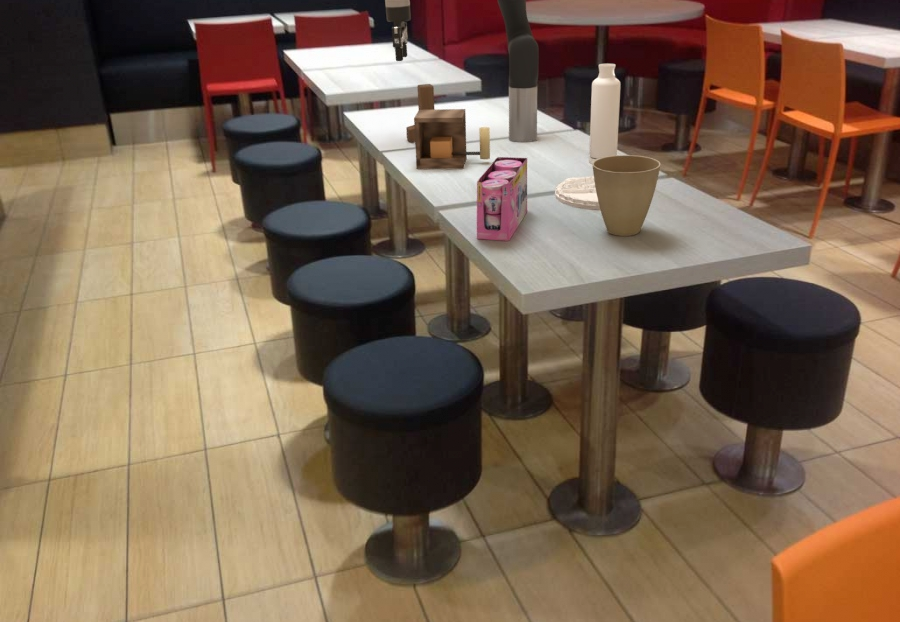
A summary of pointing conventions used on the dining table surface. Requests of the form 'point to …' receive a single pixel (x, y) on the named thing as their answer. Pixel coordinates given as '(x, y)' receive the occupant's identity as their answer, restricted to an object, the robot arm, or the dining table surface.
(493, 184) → the gum box
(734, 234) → the dining table surface
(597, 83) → the bottle
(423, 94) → the wooden block
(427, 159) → the box
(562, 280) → the dining table surface
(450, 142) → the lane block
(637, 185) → the plant pot
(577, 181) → the medallion
